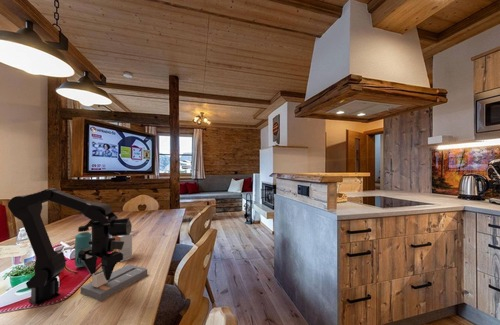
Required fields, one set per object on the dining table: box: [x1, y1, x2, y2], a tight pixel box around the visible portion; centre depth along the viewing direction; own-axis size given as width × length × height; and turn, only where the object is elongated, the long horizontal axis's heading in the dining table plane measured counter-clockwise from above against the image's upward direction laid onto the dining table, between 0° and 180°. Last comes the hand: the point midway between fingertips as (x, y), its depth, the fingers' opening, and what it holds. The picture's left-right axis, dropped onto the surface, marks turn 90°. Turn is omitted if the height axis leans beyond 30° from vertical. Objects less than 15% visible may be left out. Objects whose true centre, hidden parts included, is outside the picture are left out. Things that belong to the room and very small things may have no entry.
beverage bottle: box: [74, 225, 91, 268], centre depth 101 cm, size 6×7×20 cm
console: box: [80, 264, 148, 302], centre depth 87 cm, size 20×12×3 cm, turn 157°
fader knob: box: [91, 269, 108, 287], centre depth 81 cm, size 4×3×6 cm
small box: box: [111, 232, 133, 263], centre depth 111 cm, size 8×6×13 cm
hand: (100, 277), depth 81 cm, fingers open, 9 cm apart
